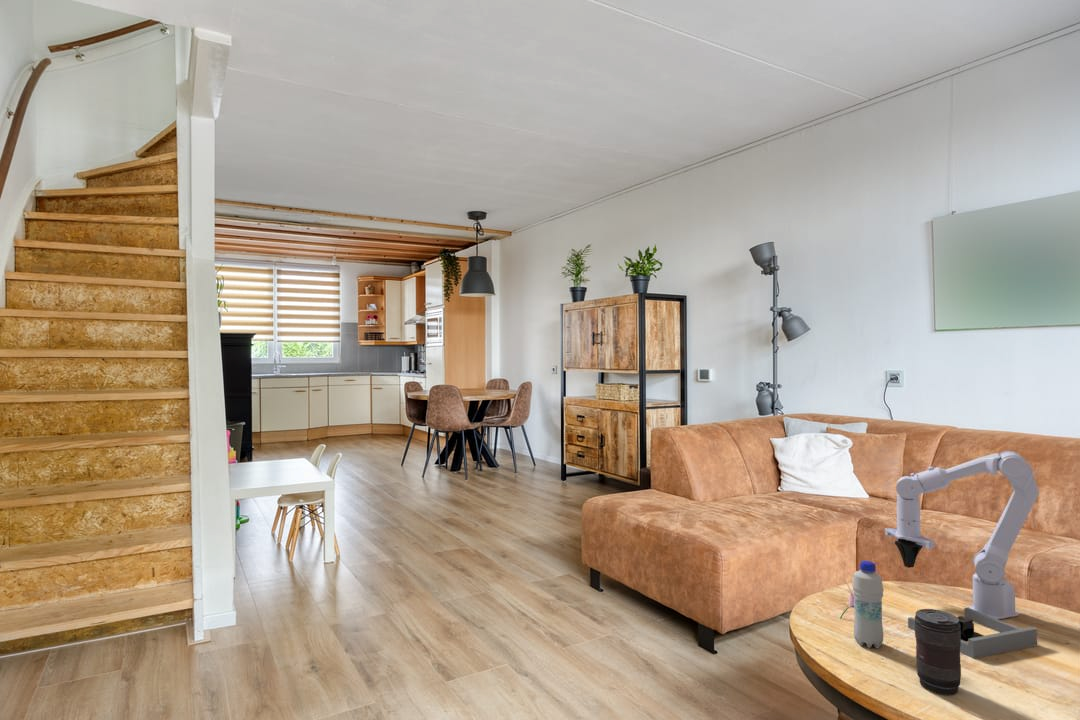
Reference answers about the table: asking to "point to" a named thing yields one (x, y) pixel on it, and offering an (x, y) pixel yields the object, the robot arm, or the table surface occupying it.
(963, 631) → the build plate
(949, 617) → the camera lens
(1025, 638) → the dock
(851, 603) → the lily
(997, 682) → the table surface
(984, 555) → the robot arm
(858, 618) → the bottle
